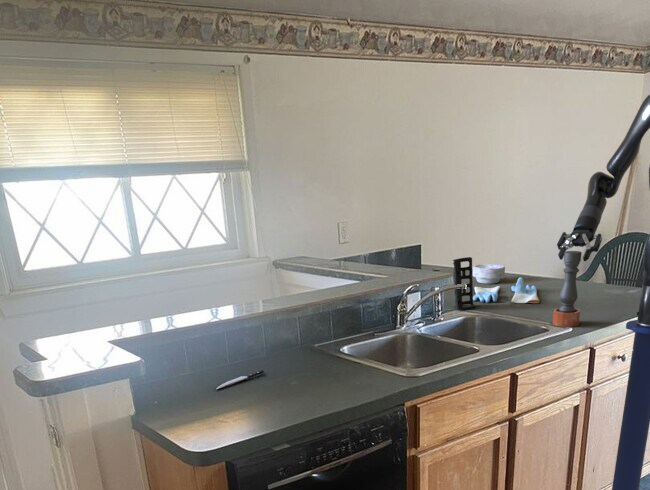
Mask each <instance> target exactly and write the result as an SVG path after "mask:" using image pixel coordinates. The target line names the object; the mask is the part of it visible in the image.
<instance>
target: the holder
mask: <svg viewBox="0 0 650 490" xmlns="http://www.w3.org/2000/svg"><path fill="white" fill-rule="evenodd" d="M452 261H453V262H452V264H453V282H454V286H455V285H457V284H462V280H469V283H465V284H466V285H467V287H466V289H463V288H462V289H455V288H454V300H455V301H454V303H455V305H454V306H455V307H454V308H455V309H457V311H463V310H468V309H471V308H475V304H474V300H473V296H474V293H473V292H474V290H473V289H474V288H473V285H474V284H473V283H474V282H473V281H474V280H473V257H471V256H468V257H460V258H456V259H452ZM464 262H468V266H463V267H462V263H464ZM466 271H468V272H469V274H467V273H466ZM466 274H467V275H466ZM462 285H463V284H462ZM467 288H469V291H468V292H467ZM468 296H469V300H463V297H468Z"/></svg>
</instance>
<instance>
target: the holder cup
mask: <svg viewBox="0 0 650 490" xmlns="http://www.w3.org/2000/svg"><path fill="white" fill-rule="evenodd" d="M559 308H560V307H557V308H554V309H553V315H552V325H554V326H557V327H562V328H572V327H578V326H579V325H580V317H581V310H580V309H579V308H575V309H576V310H575V311H574V312H573V313H563V312H560V311H559Z"/></svg>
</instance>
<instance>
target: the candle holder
mask: <svg viewBox="0 0 650 490" xmlns="http://www.w3.org/2000/svg"><path fill="white" fill-rule="evenodd" d="M582 255H583V254H582V251H580V250H566V252H565V253H564V257H563V262H564V263H563V264H564V266H565V268H564V269H563V272H564V281H563V284H562V287H561V291H560V293H559V301H560V302H561V306H560V307H558V308H559V311H560V312H563V313H573V312H574V311H575V310H576V309H577V308H575V306H574V305H575V302H576V301H577V300H578V288H577V274H578V273H579V272H580V269H579V268H578V267H579V265H580V264H581V262H582Z"/></svg>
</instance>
